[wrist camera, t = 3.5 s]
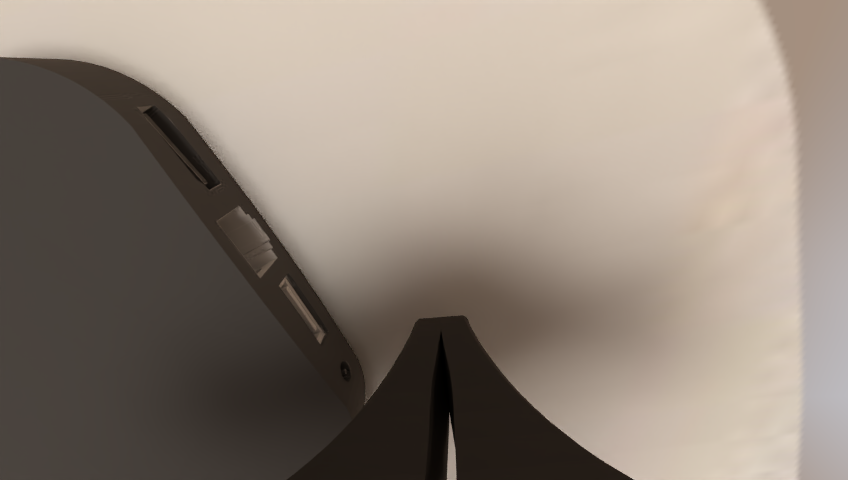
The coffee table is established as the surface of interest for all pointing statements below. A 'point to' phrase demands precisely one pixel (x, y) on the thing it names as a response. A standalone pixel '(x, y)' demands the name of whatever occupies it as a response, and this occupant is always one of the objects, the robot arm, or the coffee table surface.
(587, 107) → the coffee table surface
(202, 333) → the media streaming box
